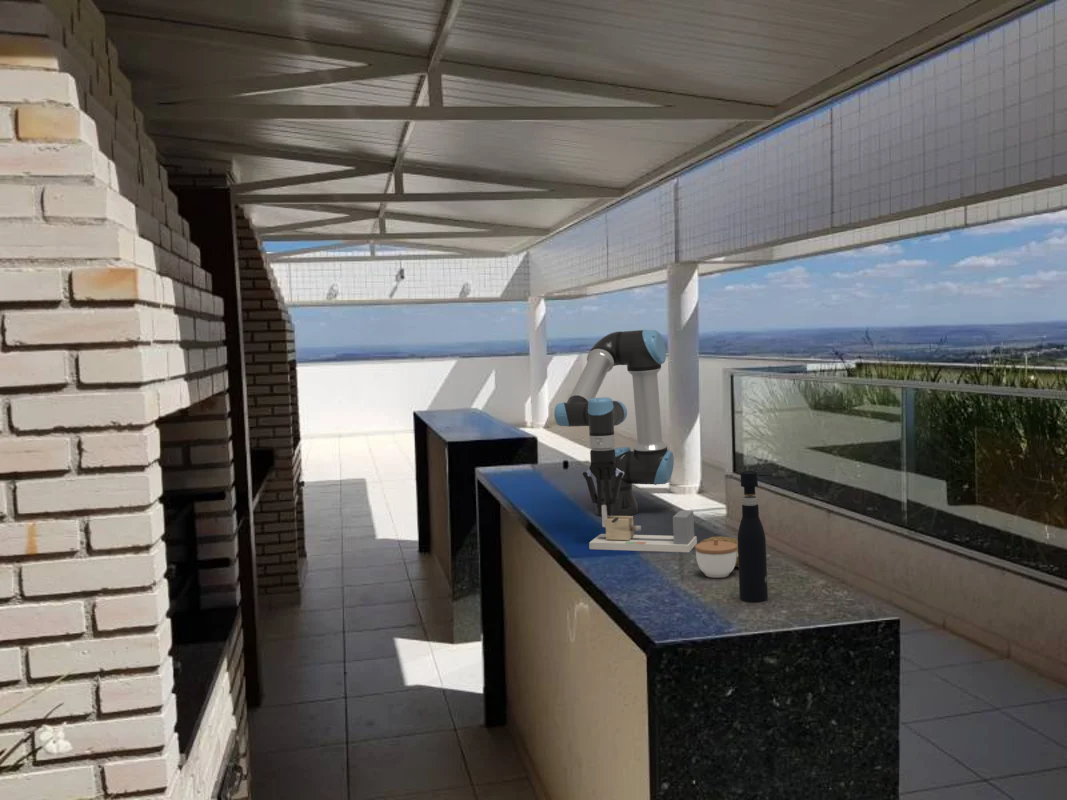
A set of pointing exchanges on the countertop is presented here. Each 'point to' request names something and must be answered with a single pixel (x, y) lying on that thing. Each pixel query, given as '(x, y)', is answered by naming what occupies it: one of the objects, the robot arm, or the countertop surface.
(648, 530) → the countertop surface
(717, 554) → the lidded jar
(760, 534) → the wine bottle
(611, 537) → the gauge carriage
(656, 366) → the robot arm
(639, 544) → the bench
